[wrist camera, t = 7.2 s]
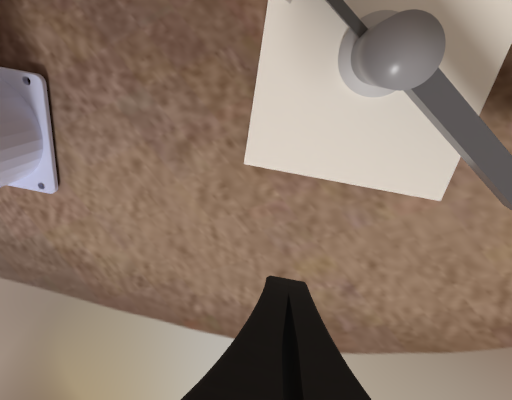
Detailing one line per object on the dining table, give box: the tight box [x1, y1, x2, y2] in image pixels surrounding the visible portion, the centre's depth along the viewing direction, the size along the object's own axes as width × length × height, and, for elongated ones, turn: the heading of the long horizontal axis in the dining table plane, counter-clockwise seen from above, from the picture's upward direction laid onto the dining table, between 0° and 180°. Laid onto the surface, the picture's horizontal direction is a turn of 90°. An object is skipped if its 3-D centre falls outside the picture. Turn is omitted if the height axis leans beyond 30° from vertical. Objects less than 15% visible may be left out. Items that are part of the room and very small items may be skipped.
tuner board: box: [244, 0, 512, 201], centre depth 16 cm, size 12×14×1 cm
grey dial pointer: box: [325, 0, 512, 210], centre depth 14 cm, size 16×3×4 cm, turn 47°
